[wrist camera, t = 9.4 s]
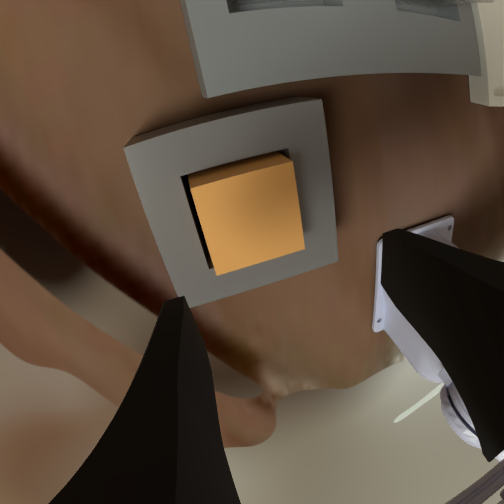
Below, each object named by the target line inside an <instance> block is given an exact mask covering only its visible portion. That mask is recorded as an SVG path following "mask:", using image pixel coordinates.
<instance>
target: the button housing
mask: <svg viewBox="0 0 504 504" xmlns="http://www.w3.org/2000/svg"><path fill="white" fill-rule="evenodd" d="M124 151H125V154H126V158H127V161H128V164H129V167H130V170H131V173H132V176H133V179H134V182H135V185H136V188H137V191H138V194H139V197H140V199H141V202H142V205H143V208H144V211H145V213H146V216H147V219H148V222H149V224H150V227H151V230H152V232H153V235H154V238H155V240H156V243H157V245H158V248H159V251H160V253H161V256H162V258H163V261H164V263H165V266H166V268H167V271H168V273H169V276H170V278H171V281H172V283H173V285H174V288H175V290H176V292H177V295H178V297H181V296H185V298H186V301H187V303H188V306H189V308H191V307H194V306H198V305H201V304H205V303H208V302H211V301H215V300H218V299H221V298H225V297H228V296H231V295H235V294H238V293H241V292H244V291H248V290H251V289H254V288H257V287H260V286H264V285H267V284H270V283H273V282H276V281H279V280H283V279H286V278H289V277H292V276H295V275H298V274H301V273H304V272H307V271H310V270H314V269H317V268H320V267H323V266H326V265H329V264H332V263H335V262H338V249H337V233H336V219H335V206H334V195H333V184H332V174H331V165H330V156H329V147H328V139H327V132H326V124H325V117H324V110H323V103H322V99H316V98H308V97H299V96H297V97H291V98H285V99H279V100H274V101H268V102H263V103H258V104H253V105H248V106H244V107H239V108H235V109H230V110H226V111H222V112H218V113H214V114H210V115H206V116H202V117H198V118H194V119H191V120H187V121H184V122H180V123H177V124H173V125H170V126H166V127H163V128H160V129H157V130H154V131H150V132H147V133H144V134H141V135H138V136H135V137H132V138H131V139H130V140H129V142H128V143H127V144H126V145H125V147H124ZM273 151H277V152H279V153H280V154H282V155H283V156H285V157H287V158H288V159H290V160H291V161H293V166H294V173H295V179H296V186H297V193H298V200H299V207H300V214H301V222H302V229H303V237H304V245H305V249H303V250H300V251H297V252H293V253H290V254H287V255H284V256H280V257H277V258H274V259H271V260H267V261H264V262H261V263H258V264H254V265H251V266H248V267H244V268H241V269H238V270H235V271H231V272H228V273H225V274H221V275H218V276H217V275H216V272H215V269H214V266H213V262H212V259H211V256H210V253H209V250H208V246H207V243H206V241H205V242H202V238H201V235H200V232H199V229H198V225H197V222H196V219H195V216H194V212H193V209H192V206H191V202H190V199H189V196H188V192H187V189H186V185H185V182H184V178H183V175H186V174H190V173H193V172H196V171H200V170H203V169H207V168H210V167H214V166H218V165H221V164H225V163H229V162H233V161H236V160H240V159H244V158H248V157H252V156H256V155H260V154H264V153H269V152H273Z"/></svg>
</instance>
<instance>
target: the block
mask: <svg viewBox="0 0 504 504" xmlns="http://www.w3.org/2000/svg"><path fill="white" fill-rule="evenodd" d="M283 1H306V0H234V4H235V6H241V5H249V4H258V3H269V2H283Z"/></svg>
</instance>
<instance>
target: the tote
mask: <svg viewBox="0 0 504 504" xmlns="http://www.w3.org/2000/svg"><path fill="white" fill-rule="evenodd" d="M493 2H494V3H471V6H472V11H473V16H474V21H475V27H476V33H477V40H478V47H479V55H480V64H481V75H482V76H473V75H469V88H470V102H473V103H478V104H482V105H486V106H504V0H493Z"/></svg>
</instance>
